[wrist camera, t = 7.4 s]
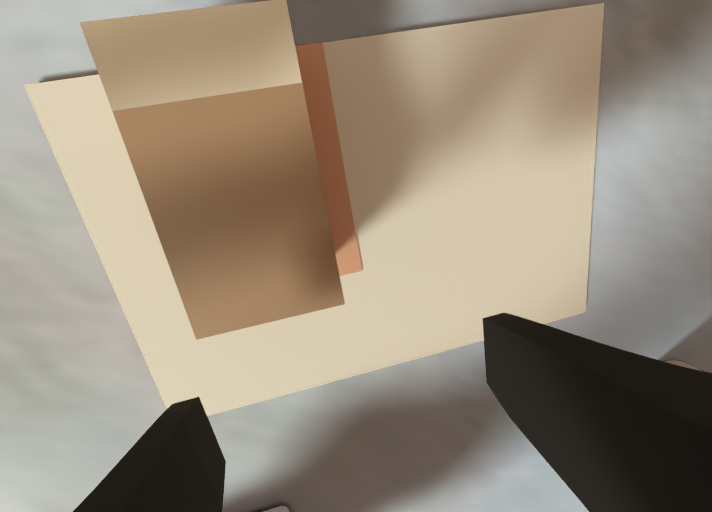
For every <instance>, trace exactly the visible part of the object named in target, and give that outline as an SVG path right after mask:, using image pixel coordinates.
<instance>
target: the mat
mask: <svg viewBox="0 0 712 512" xmlns="http://www.w3.org/2000/svg"><path fill="white" fill-rule="evenodd" d="M603 18H604V3H598V4H591V5H584V6H577V7H570V8H563V9H556V10H549V11H542V12H535V13H528V14H521V15H514V16H507V17H500V18H493V19H486V20H479V21H472V22H465V23H457V24H450V25H443V26H436V27H429V28H422V29H415V30H408V31H401V32H394V33H387V34H380V35H373V36H366V37H359V38H352V39H345V40H338V41H331V42H324V43H322V42H319V43H312V44H305V45H298V46H295V48H296V53H297V59H298V64H299V69H300V74H301V79H302V84H303V90H304V95H305V100H306V105H307V110H308V115H309V121H310V126H311V131H312V136H313V141H314V146H315V152H316V157H317V162H318V167H319V172H320V177H321V183H322V188H323V193H324V198H325V203H326V208H327V214H328V219H329V224H330V229H331V234H332V239H333V245H334V250H335V255H336V260H337V265H338V270H339V276H340V281H341V286H342V291H343V296H344V301H345V304H344V305H340V306H335V307H331V308H327V309H323V310H319V311H314V312H310V313H306V314H302V315H298V316H294V317H289V318H285V319H281V320H277V321H273V322H268V323H264V324H260V325H256V326H252V327H248V328H243V329H239V330H235V331H231V332H227V333H222V334H218V335H214V336H210V337H206V338H202V339H197V340H196V338H195V335H194V332H193V329H192V327H191V324H190V321H189V319H188V316H187V313H186V310H185V308H184V305H183V302H182V299H181V297H180V294H179V291H178V289H177V286H176V283H175V280H174V278H173V275H172V272H171V270H170V267H169V264H168V261H167V259H166V256H165V253H164V250H163V248H162V245H161V242H160V240H159V237H158V234H157V231H156V229H155V226H154V223H153V221H152V218H151V215H150V212H149V210H148V207H147V204H146V201H145V199H144V196H143V193H142V191H141V188H140V185H139V182H138V180H137V177H136V174H135V171H134V169H133V166H132V163H131V161H130V158H129V155H128V152H127V150H126V147H125V144H124V142H123V139H122V136H121V133H120V131H119V128H118V125H117V122H116V120H115V117H114V114H113V112H112V109H111V106H110V103H109V101H108V98H107V95H106V93H105V90H104V87H103V84H102V82H101V79H100V76H99V74H98V75H91V76H84V77H77V78H70V79H63V80H56V81H49V82H42V83H35V84H28V85H24V87H25V89H26V91H27V93H28V96H29V98H30V100H31V102H32V105H33V107H34V109H35V111H36V114H37V116H38V118H39V121H40V123H41V125H42V127H43V130H44V132H45V134H46V136H47V139H48V141H49V143H50V145H51V148H52V150H53V152H54V155H55V157H56V159H57V161H58V164H59V166H60V168H61V170H62V173H63V175H64V177H65V179H66V182H67V184H68V186H69V189H70V191H71V193H72V195H73V198H74V200H75V202H76V204H77V207H78V209H79V211H80V213H81V216H82V218H83V220H84V223H85V225H86V227H87V229H88V232H89V234H90V236H91V238H92V241H93V243H94V245H95V247H96V250H97V252H98V254H99V257H100V259H101V261H102V263H103V266H104V268H105V270H106V272H107V275H108V277H109V279H110V281H111V284H112V286H113V288H114V290H115V293H116V295H117V297H118V300H119V302H120V304H121V306H122V309H123V311H124V313H125V315H126V318H127V320H128V322H129V324H130V327H131V329H132V331H133V334H134V336H135V338H136V340H137V343H138V345H139V347H140V349H141V352H142V354H143V356H144V358H145V361H146V363H147V365H148V368H149V370H150V372H151V374H152V377H153V379H154V381H155V383H156V386H157V388H158V390H159V392H160V395H161V397H162V399H163V402H164V404H165V406H166V408H167V409H168V408H169V407H170V406H171V405H172V404H174V403H178V402H181V401H185V400H189V399H192V398H196V397H199V398H200V400H201V403H202V405H203V408H204V410H205V412H206V415H207V416H209V415H213V414H217V413H220V412H224V411H228V410H231V409H235V408H239V407H242V406H246V405H250V404H253V403H257V402H261V401H264V400H268V399H272V398H275V397H279V396H283V395H286V394H290V393H294V392H297V391H301V390H305V389H308V388H312V387H316V386H319V385H323V384H327V383H330V382H334V381H338V380H341V379H345V378H349V377H352V376H356V375H360V374H363V373H367V372H371V371H374V370H378V369H382V368H385V367H389V366H393V365H396V364H400V363H404V362H407V361H411V360H415V359H418V358H422V357H426V356H429V355H433V354H437V353H440V352H444V351H448V350H451V349H455V348H459V347H462V346H466V345H470V344H473V343H477V342H481V341H484V333H483V318H486V317H489V316H493V315H497V314H500V313H508V314H512V315H516V316H519V317H522V318H525V319H529V320H532V321H535V322H538V323H541V324H547V323H550V322H554V321H558V320H561V319H565V318H569V317H572V316H576V315H580V314H583V313H586V299H587V282H588V266H589V249H590V233H591V216H592V200H593V183H594V167H595V150H596V134H597V117H598V101H599V84H600V68H601V51H602V35H603Z"/></svg>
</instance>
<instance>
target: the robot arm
mask: <svg viewBox="0 0 712 512" xmlns="http://www.w3.org/2000/svg"><path fill="white" fill-rule="evenodd" d="M483 333H484V348H485V363H486V377H487V383H488V385H489V387H490V388H491V390H492V391H493V393H494V394H495V396H496V398H497V399H498V401H499V402H500V404H501V405H502V407H503V408H504V410H505V411H506V412H507V414H508V415H509V417H510V418H511V419H512V421H513V422H514V423H515V424H516V425H517V427H518V428H519V429H520V430H521V431H522V433H523V434H524V435H525V436H526V437H527V439H528V440H529V441H530V442H531V443H532V444H533V446H534V447H535V448H536V449H537V450H538V452H539V453H540V454H541V455H542V456H543V457H544V459H545V460H546V461H547V462H548V463H549V464H550V466H551V467H552V468H553V469H554V470H555V471H556V473H557V474H558V475H559V476H560V477H561V478H562V480H563V481H564V482H565V483H566V484H567V486H568V487H569V488H570V489H571V490H572V491H573V493H574V494H575V495H576V496H577V497H578V498H579V500H580V501H581V502H582V503H583V504H584V506H585V507H586V508H587V509H588V511H589V512H712V373H708V372H704V371H699V370H695V369H691V368H686V367H682V366H678V365H675V364H671V363H667V362H663V361H659V360H656V359H652V358H649V357H645V356H642V355H638V354H635V353H631V352H628V351H624V350H621V349H617V348H614V347H611V346H608V345H604V344H601V343H598V342H595V341H592V340H589V339H586V338H583V337H580V336H577V335H574V334H571V333H568V332H565V331H562V330H559V329H556V328H553V327H550V326H547V325H544V324H541V323H538V322H535V321H532V320H529V319H525V318H522V317H519V316H516V315H512V314H508V313H500V314H497V315H493V316H489V317H486V318H483ZM225 462H226V461H225V459H224V456H223V454H222V452H221V449H220V447H219V444H218V442H217V439H216V437H215V434H214V432H213V430H212V427H211V425H210V422H209V420H208V417H207V415H206V412H205V410H204V408H203V405H202V403H201V400H200V398H199V397H196V398H192V399H189V400H185V401H181V402H178V403H174V404H172V405H171V406H170V407H169V408H168V409H167V410H166V411H165V412H164V413H163V414H162V415H161V416H160V417H159V418H158V419H157V420H156V421H155V422H154V424H153V425H152V426H151V427H150V428H149V429H148V430H147V431H146V432H145V434H144V435H143V436H142V437H141V438H140V439H139V440H138V441H137V442H136V444H135V445H134V446H133V447H132V448H131V449H130V450H129V451H128V453H127V454H126V455H125V456H124V457H123V458H122V459H121V460H120V461H119V463H118V464H117V465H116V466H115V467H114V468H113V469H112V470H111V471H110V472H109V474H108V475H107V476H106V477H105V478H104V479H103V480H102V481H101V482H100V484H99V485H98V486H97V487H96V488H95V489H94V490H93V491H92V492H91V493H90V494H89V495H88V496H87V497H86V499H85V500H84V501H83V502H82V503H81V504H80V505H79V506H78V507H77V508H76V509H75V510H74V511H73V512H222V505H223V493H224V479H225ZM263 512H290V511H289V509H288V508H287V507H285V506H279V507H276V508H273V509H269V510H266V511H263Z"/></svg>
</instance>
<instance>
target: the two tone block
mask: <svg viewBox="0 0 712 512" xmlns="http://www.w3.org/2000/svg"><path fill="white" fill-rule="evenodd" d="M80 24H81V27H82V30H83V33H84V35H85V38H86V41H87V44H88V46H89V49H90V52H91V54H92V57H93V60H94V63H95V65H96V68H97V71H98V73H99V76H100V79H101V82H102V84H103V87H104V90H105V93H106V95H107V98H108V101H109V103H110V106H111V109H112V112H113V114H114V117H115V120H116V122H117V125H118V128H119V131H120V133H121V136H122V139H123V142H124V144H125V147H126V150H127V152H128V155H129V158H130V161H131V163H132V166H133V169H134V171H135V174H136V177H137V180H138V182H139V185H140V188H141V191H142V193H143V196H144V199H145V201H146V204H147V207H148V210H149V212H150V215H151V218H152V221H153V223H154V226H155V229H156V231H157V234H158V237H159V240H160V242H161V245H162V248H163V250H164V253H165V256H166V259H167V261H168V264H169V267H170V270H171V272H172V275H173V278H174V280H175V283H176V286H177V289H178V291H179V294H180V297H181V299H182V302H183V305H184V308H185V310H186V313H187V316H188V319H189V321H190V324H191V327H192V329H193V332H194V335H195V338H196V340H197V339H202V338H206V337H210V336H214V335H218V334H222V333H227V332H231V331H235V330H239V329H243V328H248V327H252V326H256V325H260V324H264V323H268V322H273V321H277V320H281V319H285V318H289V317H294V316H298V315H302V314H306V313H310V312H314V311H319V310H323V309H327V308H331V307H335V306H340V305H344V304H345V301H344V296H343V291H342V286H341V281H340V276H339V270H338V265H337V260H336V255H335V250H334V245H333V239H332V234H331V229H330V224H329V219H328V214H327V208H326V203H325V198H324V193H323V188H322V183H321V177H320V172H319V167H318V162H317V157H316V152H315V146H314V141H313V136H312V131H311V126H310V121H309V115H308V110H307V105H306V100H305V95H304V90H303V84H302V79H301V74H300V69H299V64H298V59H297V53H296V48H295V43H294V38H293V33H292V27H291V22H290V17H289V12H288V7H287V2H286V0H268V1H259V2H251V3H242V4H234V5H225V6H216V7H208V8H199V9H191V10H182V11H174V12H165V13H157V14H148V15H140V16H131V17H123V18H114V19H105V20H97V21H88V22H80Z"/></svg>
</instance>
